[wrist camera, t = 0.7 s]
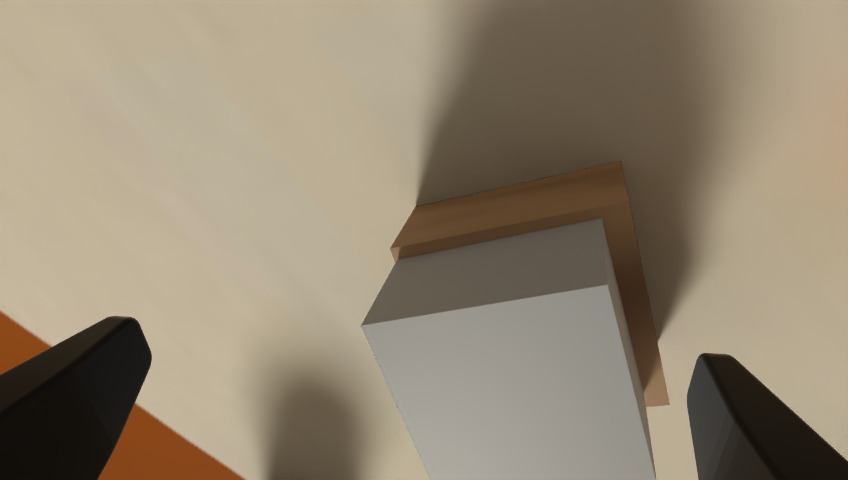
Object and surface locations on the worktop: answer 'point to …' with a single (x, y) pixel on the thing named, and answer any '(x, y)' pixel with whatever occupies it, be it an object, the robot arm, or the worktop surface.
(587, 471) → the slate top block
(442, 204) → the walnut base block
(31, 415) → the robot arm
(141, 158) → the worktop surface
